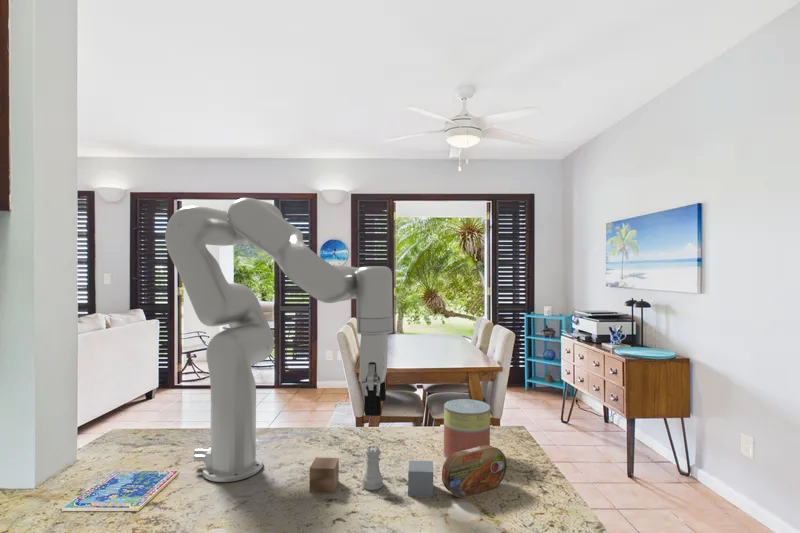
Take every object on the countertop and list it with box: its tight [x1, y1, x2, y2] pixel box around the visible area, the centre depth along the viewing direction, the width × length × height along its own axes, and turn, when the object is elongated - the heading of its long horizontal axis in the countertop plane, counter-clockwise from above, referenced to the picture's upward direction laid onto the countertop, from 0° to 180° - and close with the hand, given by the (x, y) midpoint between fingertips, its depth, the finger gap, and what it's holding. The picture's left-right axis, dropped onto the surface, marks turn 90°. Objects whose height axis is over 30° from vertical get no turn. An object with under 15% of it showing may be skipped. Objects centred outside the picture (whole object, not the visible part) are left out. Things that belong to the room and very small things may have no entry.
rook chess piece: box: [362, 444, 384, 491], centre depth 93 cm, size 4×4×8 cm
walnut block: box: [308, 456, 340, 494], centre depth 93 cm, size 5×5×5 cm
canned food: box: [442, 398, 491, 459], centre depth 109 cm, size 11×11×12 cm
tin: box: [441, 445, 508, 499], centre depth 92 cm, size 15×3×8 cm, turn 118°
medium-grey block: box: [407, 460, 434, 498], centre depth 92 cm, size 5×5×5 cm
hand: (375, 407), depth 93 cm, fingers open, 9 cm apart
